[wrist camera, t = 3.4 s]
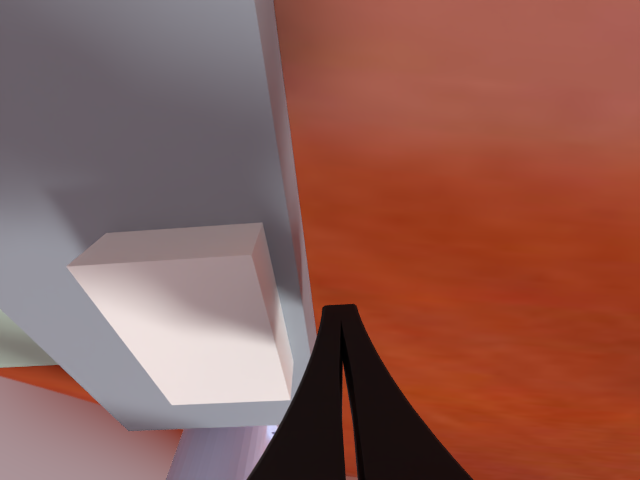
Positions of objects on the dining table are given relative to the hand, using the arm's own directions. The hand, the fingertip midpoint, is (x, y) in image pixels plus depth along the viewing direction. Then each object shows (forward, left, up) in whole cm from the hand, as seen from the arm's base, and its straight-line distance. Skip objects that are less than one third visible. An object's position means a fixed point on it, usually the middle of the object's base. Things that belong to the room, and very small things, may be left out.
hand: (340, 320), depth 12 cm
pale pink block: (0, +6, -1) cm, 6 cm away
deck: (0, +9, -5) cm, 10 cm away
